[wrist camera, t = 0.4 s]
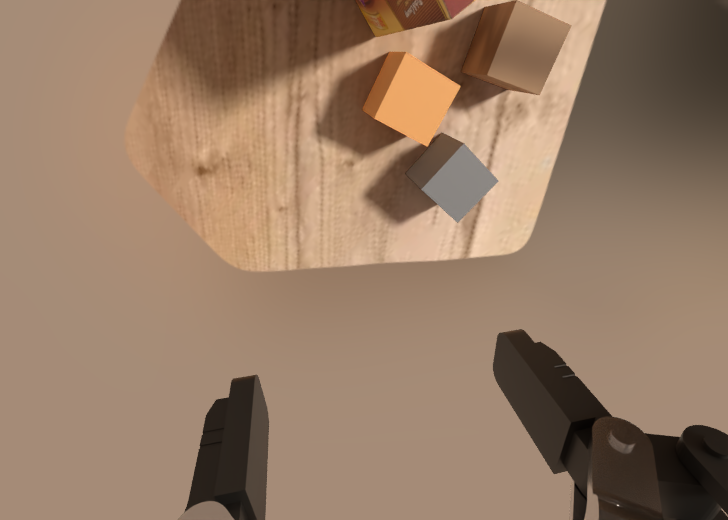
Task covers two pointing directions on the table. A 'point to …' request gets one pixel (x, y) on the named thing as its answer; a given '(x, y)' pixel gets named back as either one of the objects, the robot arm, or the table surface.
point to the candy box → (408, 13)
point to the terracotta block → (410, 97)
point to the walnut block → (515, 47)
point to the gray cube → (451, 176)
